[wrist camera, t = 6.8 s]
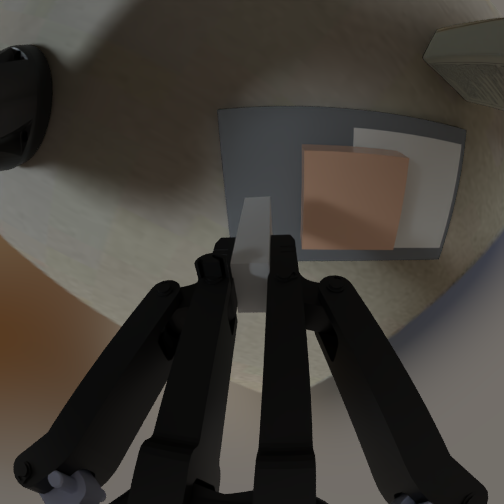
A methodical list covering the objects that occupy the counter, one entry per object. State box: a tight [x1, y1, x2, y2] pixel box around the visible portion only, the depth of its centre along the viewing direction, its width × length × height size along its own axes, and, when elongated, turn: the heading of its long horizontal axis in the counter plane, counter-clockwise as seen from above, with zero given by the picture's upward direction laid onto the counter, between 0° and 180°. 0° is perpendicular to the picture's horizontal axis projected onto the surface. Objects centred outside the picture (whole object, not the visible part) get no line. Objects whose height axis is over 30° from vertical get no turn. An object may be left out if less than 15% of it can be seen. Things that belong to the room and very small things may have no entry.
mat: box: [217, 106, 466, 261], centre depth 22 cm, size 22×14×1 cm, turn 93°
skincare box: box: [423, 18, 504, 111], centre depth 9 cm, size 6×4×12 cm
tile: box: [300, 144, 409, 250], centre depth 20 cm, size 3×8×8 cm
